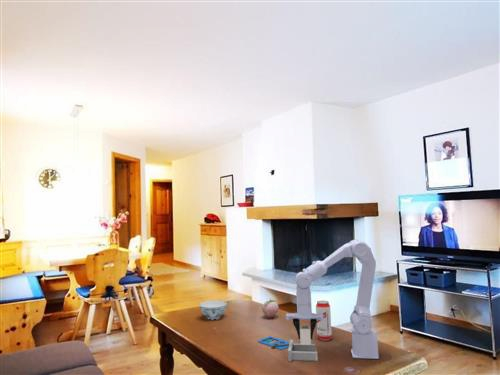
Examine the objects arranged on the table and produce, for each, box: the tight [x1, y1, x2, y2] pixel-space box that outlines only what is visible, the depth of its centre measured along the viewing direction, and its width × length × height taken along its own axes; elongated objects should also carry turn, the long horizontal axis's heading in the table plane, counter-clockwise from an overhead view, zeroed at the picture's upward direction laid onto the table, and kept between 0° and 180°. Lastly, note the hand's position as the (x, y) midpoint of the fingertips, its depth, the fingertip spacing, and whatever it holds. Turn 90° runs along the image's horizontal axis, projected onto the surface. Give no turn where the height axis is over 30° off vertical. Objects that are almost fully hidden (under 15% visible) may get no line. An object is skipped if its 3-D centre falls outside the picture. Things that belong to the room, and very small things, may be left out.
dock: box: [287, 339, 318, 363], centre depth 141 cm, size 11×12×4 cm
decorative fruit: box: [261, 299, 280, 319], centre depth 195 cm, size 9×8×10 cm
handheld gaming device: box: [257, 335, 290, 351], centre depth 156 cm, size 8×1×15 cm
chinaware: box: [199, 300, 228, 321], centre depth 198 cm, size 15×15×8 cm
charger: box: [299, 325, 312, 345], centre depth 142 cm, size 4×4×6 cm
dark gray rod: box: [270, 342, 297, 349], centre depth 152 cm, size 10×1×1 cm, turn 100°
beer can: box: [315, 300, 333, 342], centre depth 160 cm, size 6×6×16 cm
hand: (305, 338), depth 142 cm, fingers closed on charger, 4 cm apart
